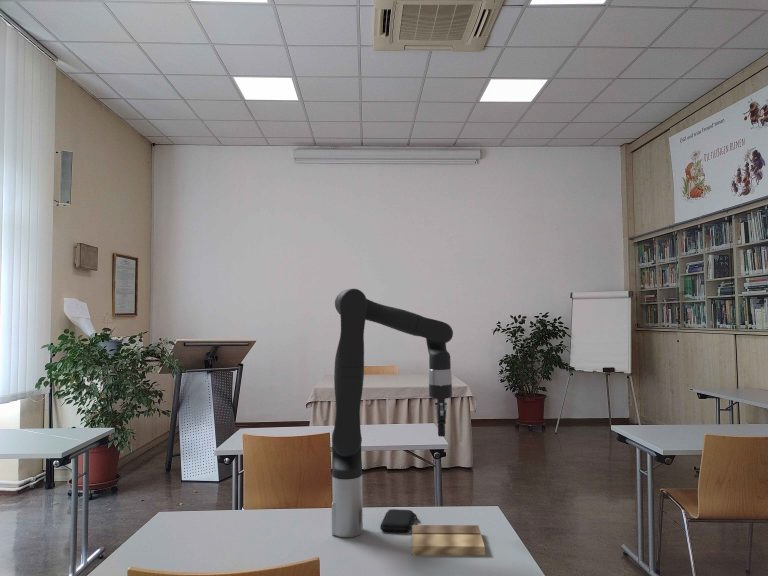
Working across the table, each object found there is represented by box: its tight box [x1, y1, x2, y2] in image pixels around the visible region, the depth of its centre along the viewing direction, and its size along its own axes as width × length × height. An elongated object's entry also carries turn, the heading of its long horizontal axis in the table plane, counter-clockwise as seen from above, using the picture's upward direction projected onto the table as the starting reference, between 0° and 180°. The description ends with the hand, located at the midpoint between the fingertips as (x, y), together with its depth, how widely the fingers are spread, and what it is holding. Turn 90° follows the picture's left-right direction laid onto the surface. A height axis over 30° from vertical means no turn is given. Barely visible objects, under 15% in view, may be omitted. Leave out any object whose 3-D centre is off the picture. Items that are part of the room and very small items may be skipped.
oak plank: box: [411, 534, 486, 556], centre depth 154 cm, size 20×8×2 cm, turn 87°
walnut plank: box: [411, 524, 482, 536], centre depth 162 cm, size 20×6×2 cm, turn 87°
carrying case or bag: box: [379, 508, 418, 534], centre depth 172 cm, size 11×3×15 cm
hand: (441, 435), depth 177 cm, fingers closed
